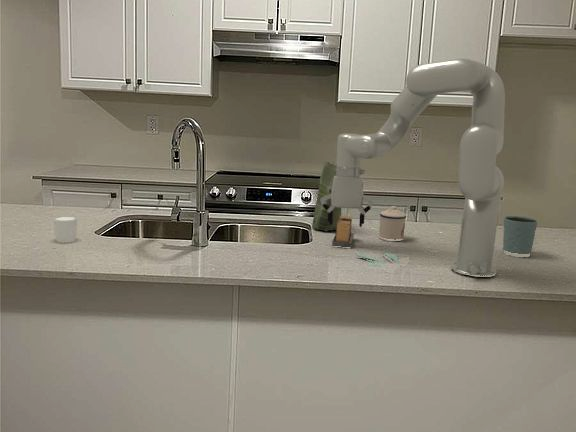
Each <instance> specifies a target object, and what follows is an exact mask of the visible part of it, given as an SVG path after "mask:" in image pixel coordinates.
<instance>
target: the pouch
mask: <svg viewBox="0 0 576 432" xmlns="http://www.w3.org/2000/svg"><path fill="white" fill-rule="evenodd" d="M321 170H322V171H321V174H320V178H319V187H318V190H317V191H318V192H317V198H316V202H315V207H314V213H313V220H312V225H311V228H312V229H313V230H317V231H325V232H329V231H337V222H338V220H339V218H340V216H342V208H338V207H335V208H334V209H333V210H332V211H333V223H332V225H330V222H328V212H327V210H326V209H325V208H324V207H323V205H322V203H321V201H320V199H321V198H322V197H324V196H326V195H329V194H331V193H332V185H333V179H334V176H336V170H337V164H335V162H333V163H331V162H329V161H325V162H324V164H323V167H322V169H321ZM325 201H326V204H327V205H328V206H329V207H330V206H331V198H329V199H327V200H325Z"/></svg>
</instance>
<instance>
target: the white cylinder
mask: <svg viewBox="0 0 576 432" xmlns="http://www.w3.org/2000/svg"><path fill="white" fill-rule="evenodd" d="M53 226H54V233H55V234H54V235H55V241H56V242H57V243H60V244H69V243H73V242H76V240H77V239H76V238H77V227H78V217H75V216H58V217H54V218H53Z"/></svg>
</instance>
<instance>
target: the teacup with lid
mask: <svg viewBox="0 0 576 432" xmlns="http://www.w3.org/2000/svg"><path fill="white" fill-rule="evenodd" d="M397 208H398V207H397V206H395V205H392V206H390V208H388V209H386V210H383V211H381V212H380V213H379V216H380V217H379V226H378V227H379V229H378V237H379V236H380V237H382V238H386V239H394V240H396V239H403V238H405V226H406V218H407V215H406V213H405V212H402V211H400V210H399V209H397ZM403 240H404V239H403Z"/></svg>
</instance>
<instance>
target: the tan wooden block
mask: <svg viewBox="0 0 576 432" xmlns="http://www.w3.org/2000/svg"><path fill="white" fill-rule="evenodd" d="M336 232H337V234H336V233H335V234H336V241H342V242H349V234H350V221H340V220H338V222H337V230H336Z"/></svg>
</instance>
